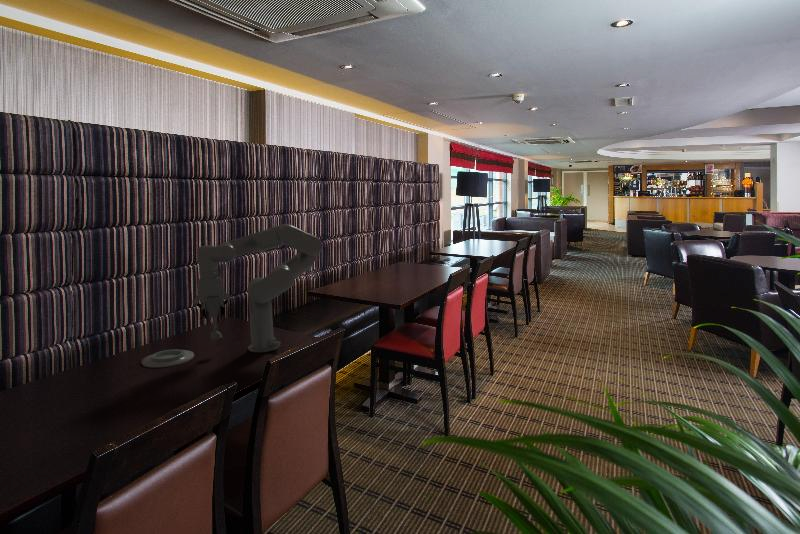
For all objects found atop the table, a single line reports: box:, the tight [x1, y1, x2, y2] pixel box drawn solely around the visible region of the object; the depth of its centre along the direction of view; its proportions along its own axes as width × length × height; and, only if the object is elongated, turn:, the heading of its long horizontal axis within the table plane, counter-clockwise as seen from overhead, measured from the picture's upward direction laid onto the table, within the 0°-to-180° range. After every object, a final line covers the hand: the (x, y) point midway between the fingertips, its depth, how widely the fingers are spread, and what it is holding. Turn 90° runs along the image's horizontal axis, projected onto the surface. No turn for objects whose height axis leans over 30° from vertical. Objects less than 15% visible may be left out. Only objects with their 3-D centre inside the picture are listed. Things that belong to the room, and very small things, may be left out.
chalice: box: [205, 297, 223, 340], centre depth 214 cm, size 7×7×18 cm
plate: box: [141, 348, 195, 369], centre depth 211 cm, size 20×20×2 cm
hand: (213, 316), depth 214 cm, fingers closed on chalice, 6 cm apart
